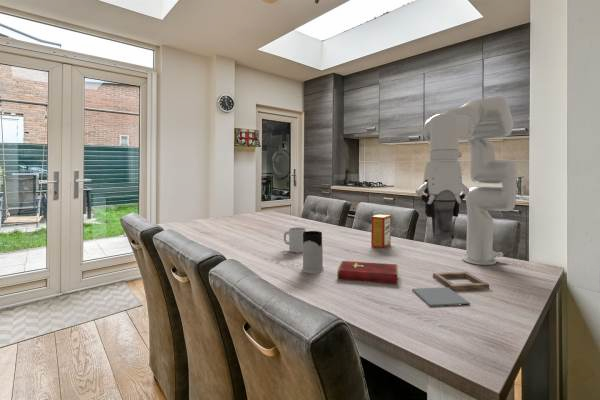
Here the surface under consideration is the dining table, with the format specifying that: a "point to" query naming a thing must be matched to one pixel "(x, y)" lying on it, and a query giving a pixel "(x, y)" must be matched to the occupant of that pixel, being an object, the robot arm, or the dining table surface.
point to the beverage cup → (443, 214)
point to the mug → (295, 239)
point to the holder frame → (475, 285)
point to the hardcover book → (368, 272)
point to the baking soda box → (381, 231)
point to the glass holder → (312, 252)
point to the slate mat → (439, 296)
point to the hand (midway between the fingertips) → (441, 216)
